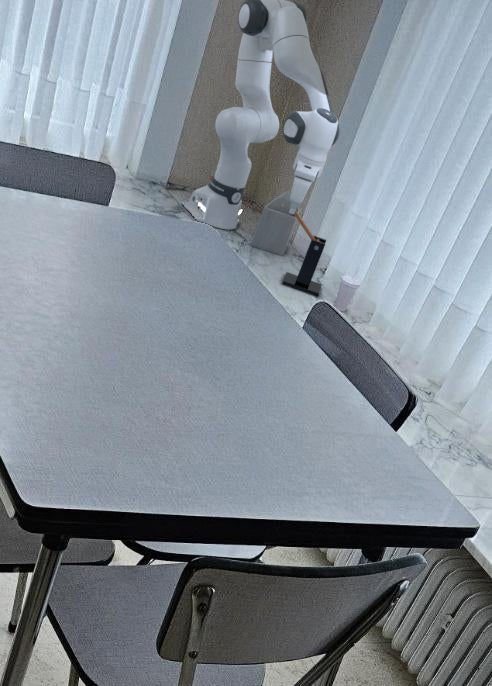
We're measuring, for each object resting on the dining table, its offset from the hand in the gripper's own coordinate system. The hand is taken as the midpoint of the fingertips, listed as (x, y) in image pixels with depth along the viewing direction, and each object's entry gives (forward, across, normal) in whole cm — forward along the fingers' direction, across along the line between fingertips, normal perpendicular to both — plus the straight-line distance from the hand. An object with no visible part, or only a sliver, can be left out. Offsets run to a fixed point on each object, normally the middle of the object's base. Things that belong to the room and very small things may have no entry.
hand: (292, 210), depth 310 cm
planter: (+22, -25, -1) cm, 33 cm away
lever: (+5, 0, +5) cm, 7 cm away
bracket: (+22, 0, +11) cm, 24 cm away
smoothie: (+22, +8, +24) cm, 34 cm away
